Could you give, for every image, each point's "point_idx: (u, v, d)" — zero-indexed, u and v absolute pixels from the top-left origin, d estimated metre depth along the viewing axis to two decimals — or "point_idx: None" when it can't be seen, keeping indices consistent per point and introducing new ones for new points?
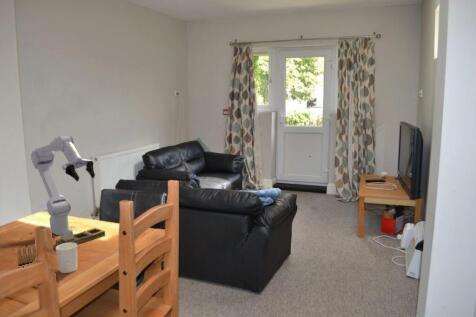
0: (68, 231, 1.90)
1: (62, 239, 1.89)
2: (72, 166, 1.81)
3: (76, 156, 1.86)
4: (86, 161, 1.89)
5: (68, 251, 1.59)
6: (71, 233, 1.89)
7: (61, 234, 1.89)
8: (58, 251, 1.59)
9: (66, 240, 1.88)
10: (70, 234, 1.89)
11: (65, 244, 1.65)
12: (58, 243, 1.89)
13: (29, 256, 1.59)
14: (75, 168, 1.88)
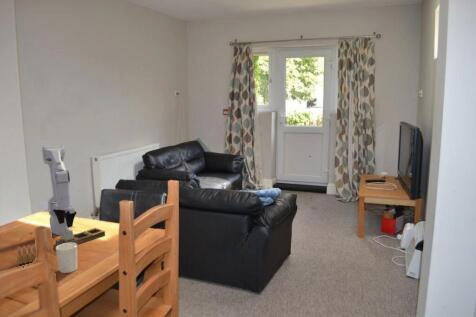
0: (68, 231, 1.90)
1: (62, 239, 1.89)
2: (54, 212, 1.89)
3: (57, 203, 1.85)
4: None
5: (68, 251, 1.59)
6: (71, 233, 1.89)
7: (61, 234, 1.89)
8: (58, 251, 1.59)
9: (66, 240, 1.88)
10: (70, 234, 1.89)
11: (65, 244, 1.65)
12: (58, 243, 1.89)
13: (29, 256, 1.59)
14: None
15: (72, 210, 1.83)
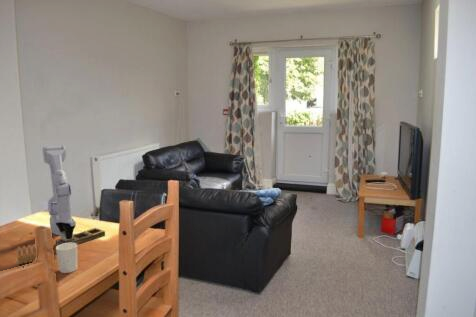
0: None
1: (62, 239, 1.89)
2: (57, 225, 1.89)
3: (58, 216, 1.86)
4: None
5: (68, 251, 1.59)
6: None
7: (61, 234, 1.89)
8: (58, 251, 1.59)
9: (66, 240, 1.88)
10: None
11: (65, 244, 1.65)
12: (58, 243, 1.89)
13: (29, 256, 1.59)
14: None
15: (73, 223, 1.84)
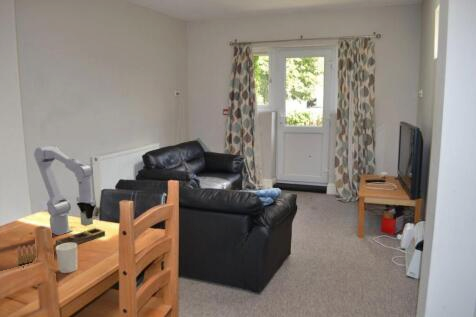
0: None
1: (82, 219, 1.96)
2: (78, 205, 1.96)
3: (79, 196, 1.93)
4: None
5: (68, 251, 1.59)
6: None
7: (81, 214, 1.95)
8: (58, 251, 1.59)
9: (86, 220, 1.95)
10: None
11: (65, 244, 1.65)
12: (58, 243, 1.89)
13: (29, 256, 1.59)
14: None
15: (94, 203, 1.91)
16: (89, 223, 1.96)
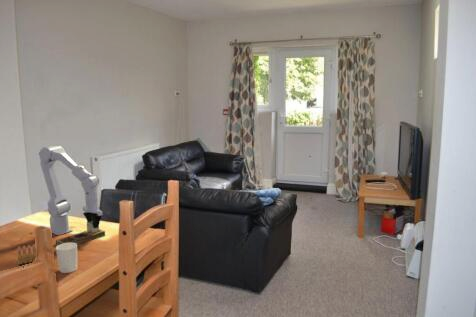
0: None
1: (88, 229, 1.99)
2: (85, 215, 1.99)
3: (86, 206, 1.96)
4: None
5: (68, 251, 1.59)
6: None
7: (88, 224, 1.99)
8: (58, 251, 1.59)
9: (92, 229, 1.98)
10: None
11: (65, 244, 1.65)
12: (58, 243, 1.89)
13: (29, 256, 1.59)
14: None
15: (100, 213, 1.94)
16: None
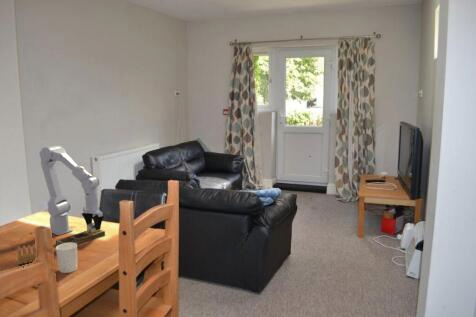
0: None
1: (88, 231, 1.99)
2: (83, 215, 2.00)
3: (86, 207, 1.97)
4: None
5: (68, 251, 1.59)
6: None
7: (88, 226, 1.99)
8: (58, 251, 1.59)
9: (92, 232, 1.98)
10: None
11: (65, 244, 1.65)
12: (58, 243, 1.89)
13: (29, 256, 1.59)
14: None
15: (100, 214, 1.94)
16: None
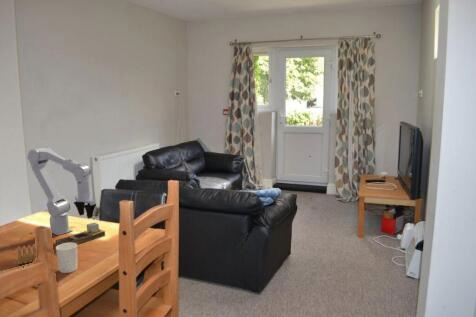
0: (94, 223, 2.00)
1: (88, 231, 1.99)
2: (75, 204, 2.01)
3: (78, 196, 1.97)
4: None
5: (68, 251, 1.59)
6: (97, 225, 2.00)
7: (88, 226, 1.99)
8: (58, 251, 1.59)
9: (92, 232, 1.98)
10: (96, 226, 1.99)
11: (65, 244, 1.65)
12: (58, 243, 1.89)
13: (29, 256, 1.59)
14: None
15: (92, 202, 1.95)
16: None
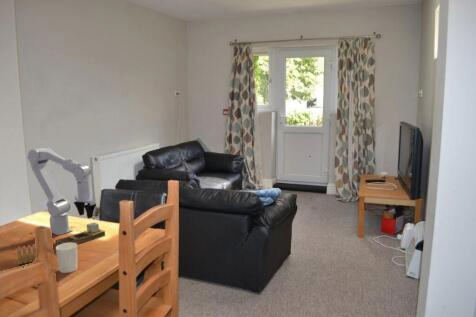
0: (94, 223, 2.00)
1: (88, 231, 1.99)
2: (75, 204, 2.01)
3: (78, 196, 1.97)
4: None
5: (68, 251, 1.59)
6: (97, 225, 2.00)
7: (88, 226, 1.99)
8: (58, 251, 1.59)
9: (92, 232, 1.98)
10: (96, 226, 1.99)
11: (65, 244, 1.65)
12: (58, 243, 1.89)
13: (29, 256, 1.59)
14: None
15: (92, 202, 1.95)
16: None
